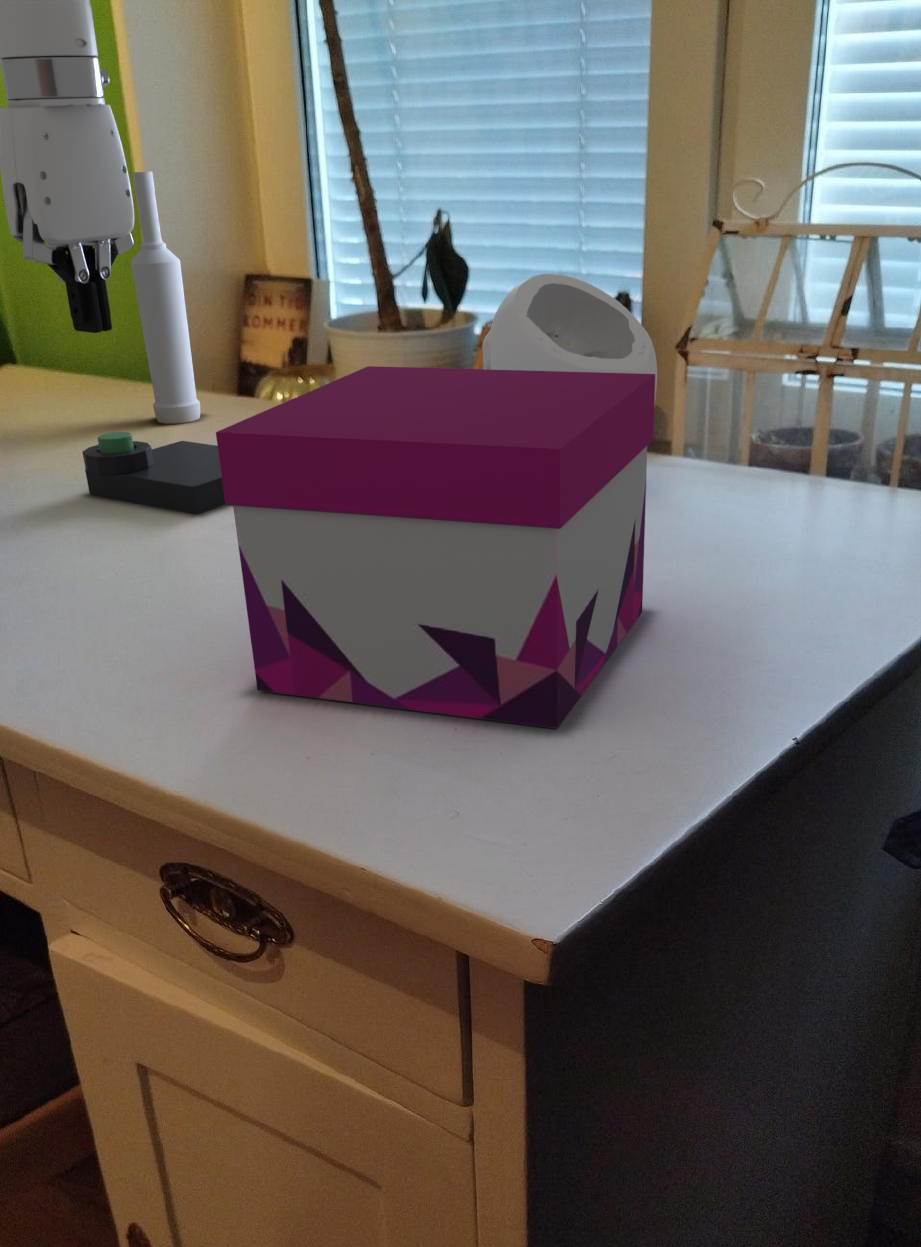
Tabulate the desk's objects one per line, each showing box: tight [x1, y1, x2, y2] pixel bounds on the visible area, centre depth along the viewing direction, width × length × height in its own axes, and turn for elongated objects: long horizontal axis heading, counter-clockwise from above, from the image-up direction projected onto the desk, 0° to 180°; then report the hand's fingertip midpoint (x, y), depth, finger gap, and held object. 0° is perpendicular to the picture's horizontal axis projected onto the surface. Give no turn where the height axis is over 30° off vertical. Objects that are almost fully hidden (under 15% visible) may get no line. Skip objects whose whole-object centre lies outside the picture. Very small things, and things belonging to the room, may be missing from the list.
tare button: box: [97, 431, 134, 454], centre depth 113 cm, size 3×3×2 cm
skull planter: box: [481, 273, 658, 406], centre depth 112 cm, size 14×20×19 cm
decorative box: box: [215, 365, 656, 729], centre depth 75 cm, size 19×19×15 cm
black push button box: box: [82, 440, 226, 515], centre depth 115 cm, size 14×13×4 cm
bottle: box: [130, 170, 201, 425], centre depth 137 cm, size 5×5×25 cm
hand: (93, 330), depth 109 cm, fingers closed
